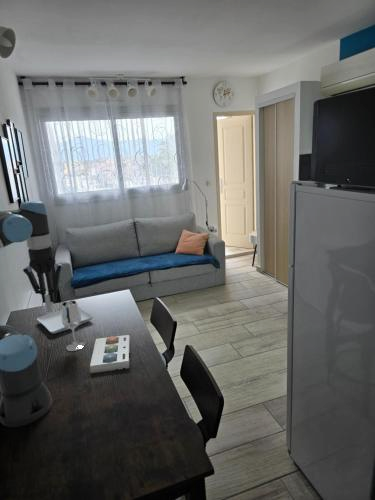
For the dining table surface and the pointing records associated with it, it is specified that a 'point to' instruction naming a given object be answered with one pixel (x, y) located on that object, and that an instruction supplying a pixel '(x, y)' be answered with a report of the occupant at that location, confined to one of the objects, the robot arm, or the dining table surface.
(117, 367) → the button panel
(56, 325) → the salad plate
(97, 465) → the dining table surface
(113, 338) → the terracotta button
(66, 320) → the wineglass
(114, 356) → the slate button
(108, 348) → the sage button
